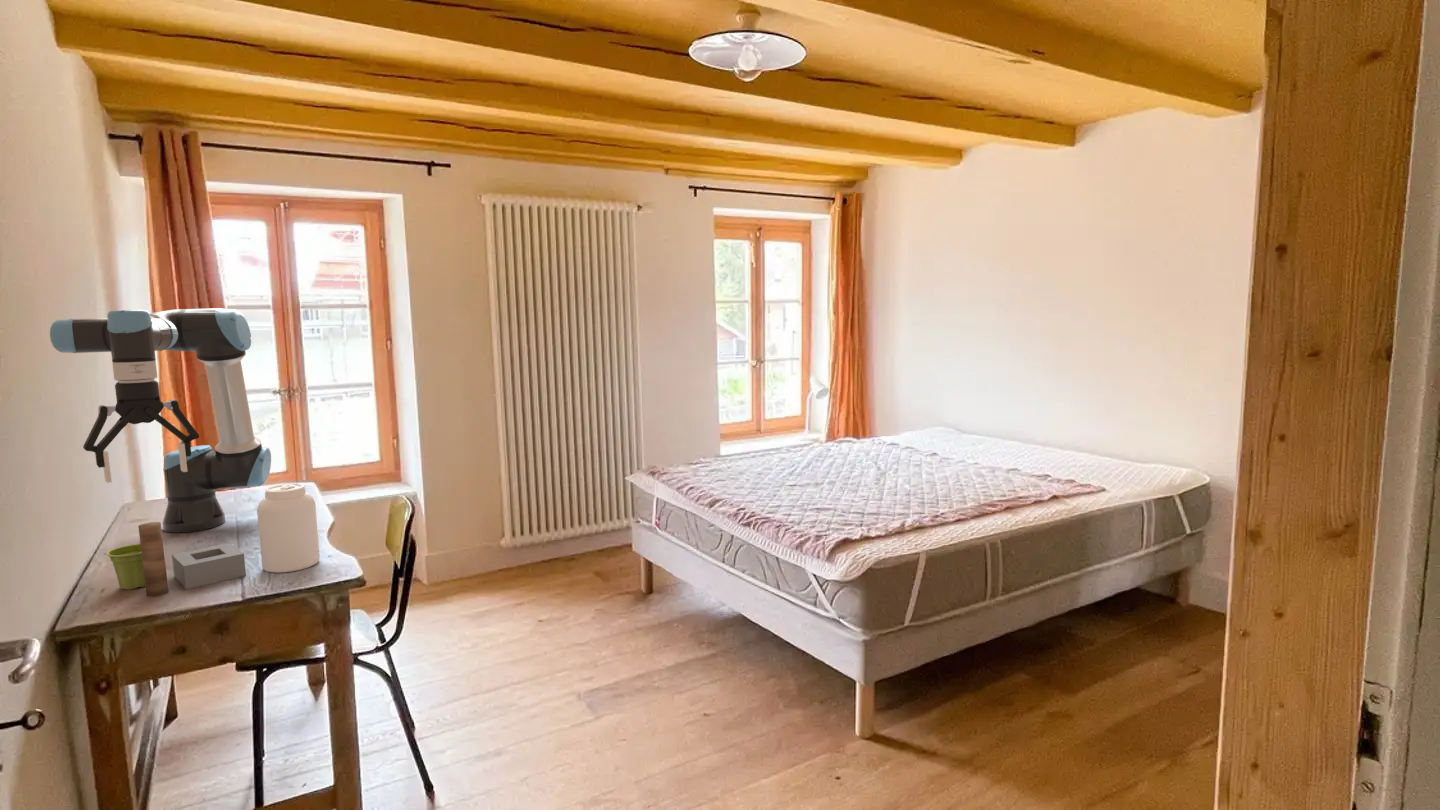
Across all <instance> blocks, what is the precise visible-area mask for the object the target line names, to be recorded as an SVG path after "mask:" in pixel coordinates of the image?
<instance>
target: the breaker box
mask: <svg viewBox="0 0 1440 810" xmlns="http://www.w3.org/2000/svg"><path fill="white" fill-rule="evenodd" d="M171 558H172V568H173V569H172V571H173V577H174V578H175V580H177V581H178V582H179V584H180V585H181V586H182V587H183V588H184V589H185V590H190V589H194V588H198V587H203V586H207V585H210V584H215V583H220V582H225V581H229V580H232V579H237V578H242V577H246V576H247V571H246V561H245V552H244V551H243V552H242V551H241V550H240V549H239V548H237V546H235V545H233V544H232V543H230V542H229V543H228V542H227V543H223V544H222V543H221V544H217V545H213V546H209V547H203V548H198V549H194V550H188V551H183V552H178V553H174V554H171Z"/></svg>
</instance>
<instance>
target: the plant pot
mask: <svg viewBox="0 0 1440 810" xmlns="http://www.w3.org/2000/svg"><path fill="white" fill-rule="evenodd" d="M106 555H107V556H108V557H109V559H110V561H111V562H112V565H113V568H114V572H115V575H116V578H117V582H118V585H119V587H120V589H122V590H135V589H137V588H139V587H143V588H145V579H144V570H143V562H142V553H141V545H140V543H136V544H130V545H123V546H121V547H120V546H119V547H116V548H113V549H111V550H109V551H107V552H106Z"/></svg>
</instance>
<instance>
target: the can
mask: <svg viewBox="0 0 1440 810" xmlns="http://www.w3.org/2000/svg"><path fill="white" fill-rule="evenodd" d="M256 513H257V523H258V534H259V535H258V536H259V544H260V556H261V567H262V568H263V570H264V571H265V572H268V573H277V574H279V573H282V574H283V573H291V572H296V571H300V570H301V571H302V570H304V569H307V568H310V567H312V566H314V565H315V566H316V564H318V563H319V561H320V557H321V555H320V544H319V543H320V542H319V532H318V530H319V529H318V521H317V506H316V500H315V498H314V496H313V495H311V494H310V493H308V492H307V491H306V487H305V485H303V484H298V483H286V484H279V485H273V486H271V487H268V488H267V489H266V490H265V492H264V497H263V498H262V499H261V500H260V501H259V502H258V505H257V510H256Z"/></svg>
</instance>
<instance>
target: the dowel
mask: <svg viewBox="0 0 1440 810" xmlns="http://www.w3.org/2000/svg"><path fill="white" fill-rule="evenodd" d="M137 529H138V536H139V544H140V545H141V553H142V562H143V570H144V579H145V587H144V588H145V594H146V597H148V598H149V597H150V598H151V597H152V598H153V597H155V598H156V597H159V596H163V595H165V594H168V593H169V585H168V576H167V566H166V557H165V549H164V541H163V540H164V539H163V530H162V529H163V528H162V523H161V522H160V521H150V522H145V523H140V524H139V525H138V527H137Z"/></svg>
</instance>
